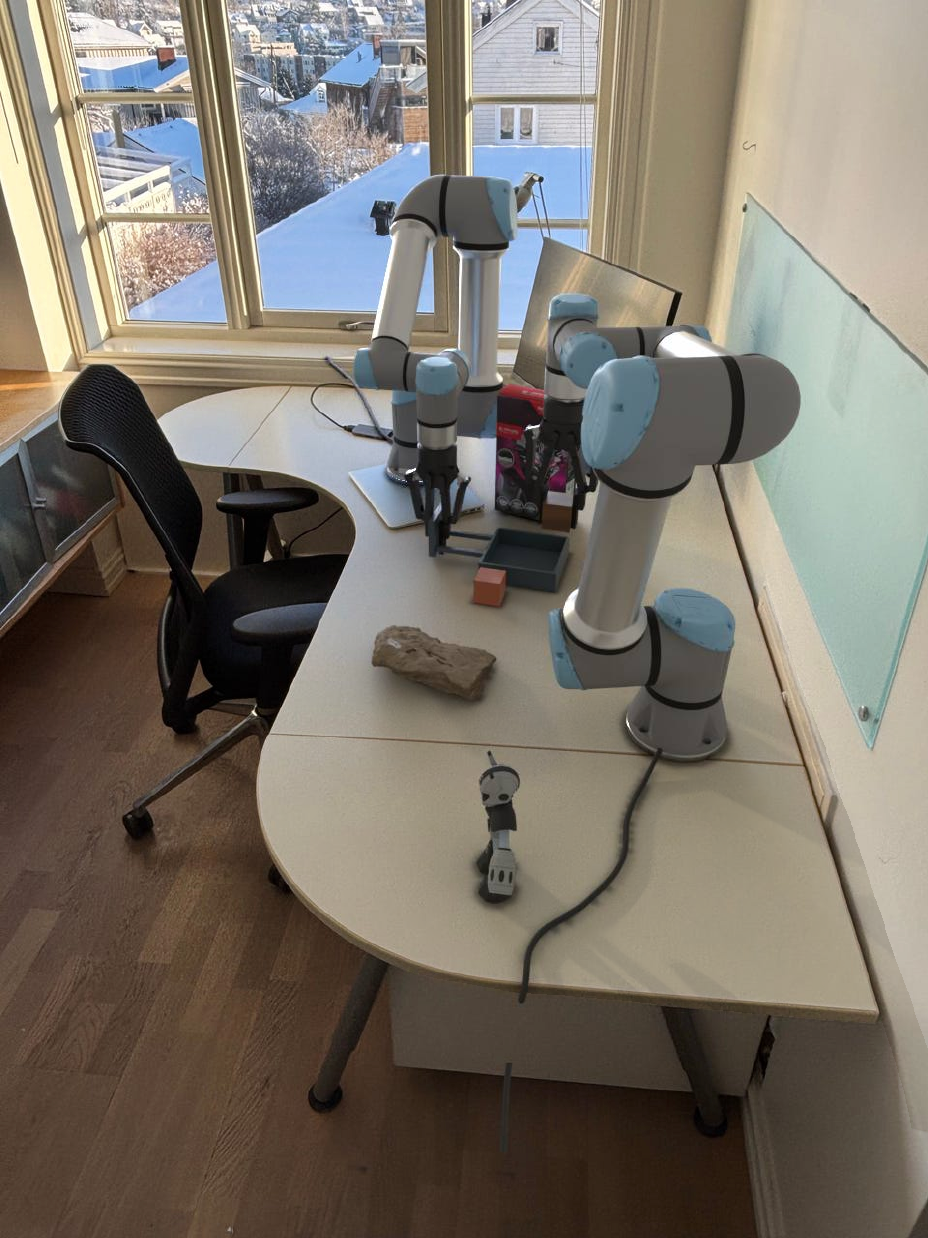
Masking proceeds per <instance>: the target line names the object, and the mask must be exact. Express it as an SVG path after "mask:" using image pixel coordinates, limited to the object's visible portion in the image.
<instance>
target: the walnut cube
mask: <svg viewBox="0 0 928 1238" xmlns="http://www.w3.org/2000/svg"><path fill="white" fill-rule="evenodd" d="M572 509H573V494H568V493H560V492H552V491H548V494H547V496H546V498H545V500H544V502H543V513H542V525H541V530H547V531H555V532H562V533H568V534H570V533H571V531H572V529H571V522H572Z"/></svg>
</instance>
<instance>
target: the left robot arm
mask: <svg viewBox="0 0 928 1238" xmlns="http://www.w3.org/2000/svg"><path fill="white" fill-rule="evenodd" d="M516 195H517V194H516V192H515V188H514V185H513V183H512V182H511V181H510V180H509V179H508V178H506V177H505V178H504V177H498V176H491V175H452V174H451V175H448V174H434V175H431V176H429V177H426V178H425V179H423V180H421V181H419V182H418V183H417V184H415V185H414V186H413V187H412V188H411V189H410V190H409V191H408V192H407V193H406V195H404V197H403V198H402V200H401V201H400V203H399V205H398V206H397V208H396V209H395V212H394V214H393V217H392V220H391V224H390V228H389V236H390V238H391V240H392V243H391V248H390V253H389V257H388V262H387V267H386V271H385V276H384V280H383V285H382V289H381V294H380V298H379V303H378V308H377V312H376V315H375V316H376V318H375V321H374V326H373V330H372V334H371V335H372V336H371V339H370V345H369V347H365V348H364V347H363V348H359V349H357V351H356V352H355V354H354V358H353V363H352V374H353V378H354V379H353V378H352V377H351V376H350V375H349V374H347V372H346V371H344V369H342V368H341V367H339V365H337V364H336V363H335V362H333V360H332V359H331V356H330V355H326V356H325V357H324V358H325V360H327V361H328V362H329V364H330V365H331V366H332V367H333V368H335V369H336V370H338V372H340V373H341V374H342V375H343V376H344V377H345V378H346V379H347V380H348V381H349V382H350V383H351V384H352V385H353V387H354V388H355V389H356V391H358V394H359V395H360V397H361V398H362V401H363V402H364V405H365V407H366V409H367V411H368V413H369V415H370V417H371V420H372V421H373V424H374V425H375V427H376V429H377V431H378V433H379V434H380V435H381V436H382V437H383V439H385V440H387V441H388V442H390V443H391V444H392V445H391V449H390V452H389V455H388V459H387V461H386V474H387V477H388V478H389V479H390V480H392V481H394V482H396V483H397V484H402V485H407V486H408V488H409V493H410V497H411V503H412V507H413V511H414V516H415V519H416V520H419V521H420V520H421V521H423V522H424V535H425V537H428V538H429V532H428V521H429V519H430V518H431V516H432V515H433V513H434V512H435V496H436V489H437V490H438V491H439V497H440V502H441V511H442V522H441V523H440V525H439V545H442V546H447V540H449V539H450V537H451V536H450V535H451V529H452V525H457V524H458V522H459V521H460V519H461V515H462V510H463V505H464V500H465V495H466V491H467V487H468V486H469V484H470V483H471V481H472V477H470V476H468V475H467V476H464V475H463V474H462V473H460V469H459V466H458V444H457V441H458V437H463V438H473V439H478V440H482V439H488V440H489V439H490V440H491V439H493V440H494V439H496V430H497V394H498V393H499V392H500V391H501V390H502V389H503V388H504V387H505V386H504V378H503V376H502V375H501V374H500V373H499V371H498V346H499V345H498V344H499V321H500V299H501V298H500V296H501V295H500V294H501V270H502V257H503V256H504V255H505V254H506V253H507V252H508V251H509V250H510V242H513V241H515V240H516V239H517V236H518V224H519V217H518V204H517V197H516ZM439 237H443V238H452V240H453V241H452V242H453V243H452V245H453V246H452V248H453V249H454V250H455V252H456V254H458V255H459V259H460V261H459V302H458V303H459V306H458V307H459V308H458V310H459V311H458V313H459V315H458V349H456V348H447V349H444V350H442V351H440V352H439V353H431V352H416V351H409V349H410V345H411V340H412V335H413V330H414V326H415V320H416V315H417V311H418V306H419V301H420V296H421V291H422V286H423V283H424V276H425V273H426V267H427V263H428V257H429V253H430V251H431V250H433V248H435V246H436V245H437V244H436V243H437V238H439ZM361 388H364V389H370V390H374V391H380V390H381V391H391V400H390V402H391V403H390V404H391V416H392V417H391V419H392V438H391V437H390V436H388V434H386V433H385V432H384V431H383V429H382V428H381V427H380V424H379V423H378V420H377V419H376V416H375V414H374V412H373V411H372V408H371V406H370V404H369V402H368V400H367V398H366V396H365V394H364V392H363V391H362V389H361ZM388 473H389V474H390V475H391V476H390V475H389V474H388ZM392 476H393V477H392ZM396 478H397V479H396ZM398 479H400V480H398ZM402 480H405V481H402ZM406 481H407V482H406ZM419 481H423V482H419ZM454 481H456V486H457V487H458V488H457V490H456V494H455V500H454V505H453V508H452V505H451V503H452V502H451V485H452V484H453V483H454ZM421 486H424V493H425V497H424V501H423V496H422V492H421ZM452 509H453V510H452ZM438 555H440V556H443V555H444V552H438Z"/></svg>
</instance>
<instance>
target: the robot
mask: <svg viewBox="0 0 928 1238" xmlns="http://www.w3.org/2000/svg"><path fill="white" fill-rule="evenodd" d="M486 753H487V757H488V760H489V763H490V765H491V766H489V767H488V768H486V769H485V770H484V771H483V772H482V773H481V775H480V777H479V779H478V784H479V785H478V787H479V791H480V794H481V804H482V805H483V806H484V810H485V812H486V814H487V817H488V818H487V820H486V821H487V832H488V833H489V836H490V837H489V838H490V840H489V841H488V843H487V844H486V848H485V849H484V850H483V852H482V853H481V854H480V855H479V857H478V859H477V861H476V862H475V864H476V866H477V868H478V870H479V872H480V873H482V874H484V875H485V876H484V877H483V879H482V881H481V883H480V886H479V889H478V895H479V896H480V897H481V898H482V899H483V900H484V901H485V902H489V903H492V904H495V903H496V904H497V903H502V902H503V901H505V900H508V899H509V898H512V895H513V892H514V887H515V879H516V874H517V861H516V860H517V859H516V856H515V851H513V850H512V848H511V844H510V831H513V832H517V831H518V823H517V814H516V811H515V808H514V806H513V799H512V798H513V797H514V795H515V793H516V792H517V791H518V790H519V788H520V786H521V779H520V775H519V772H517V770H516V769H515V768H513V767H511V766H510V765H507V764H505V763H498V762H497V761H496V759H495V757H494V755H493V753H492V751H491V750H488V751H487V752H486Z"/></svg>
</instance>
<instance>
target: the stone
mask: <svg viewBox="0 0 928 1238" xmlns="http://www.w3.org/2000/svg"><path fill="white" fill-rule="evenodd" d="M372 653H373V655H372V656H371V665H372V667H374V668H377V667H381V668H387V669H388V670H390V671H391V673H392V674H393V675H395V676H398V677H405V678H406V679H407V680H410V681H413V682H415V681H416V682H420V683H421V684H424V685H426V686H430V687H431V688H435V689H437V690H438V691H441V692H443V693H445V694H450V695H458V696H460V697H462V698H464V699H465V700H466V701H470V702H474V701H477V700H479V698H480V697H481V695H482V693H483V690H484V688H485V682H486V680H487V678H488V675H490V672H491V670H492V668H493V665H494V664H495V663H496V661H497V660H498V659H497V657H496V656H495V655H494V654H493V653H491V652H490V651H487V650H486V649H482V648H479V647H471V646H470V647H469V646H465V645H459V644H457V643H448V642H442V641H441V640H440V639H439V638H438V637H433V636H430V635H429V634H428V633H426V632H424V631H422V630H421V628H419V627H415V626H409V625H396V624H393V625H390V626H388V627H385V628H383V629H382V630H381V631H379V632H377V634H376V637H375V640H374V649H373V652H372Z"/></svg>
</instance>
